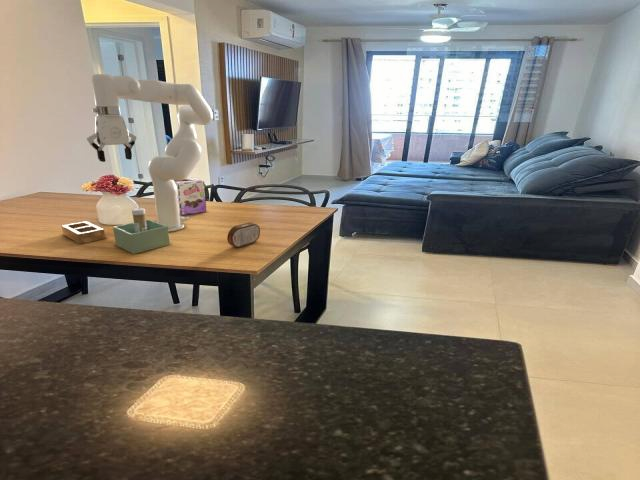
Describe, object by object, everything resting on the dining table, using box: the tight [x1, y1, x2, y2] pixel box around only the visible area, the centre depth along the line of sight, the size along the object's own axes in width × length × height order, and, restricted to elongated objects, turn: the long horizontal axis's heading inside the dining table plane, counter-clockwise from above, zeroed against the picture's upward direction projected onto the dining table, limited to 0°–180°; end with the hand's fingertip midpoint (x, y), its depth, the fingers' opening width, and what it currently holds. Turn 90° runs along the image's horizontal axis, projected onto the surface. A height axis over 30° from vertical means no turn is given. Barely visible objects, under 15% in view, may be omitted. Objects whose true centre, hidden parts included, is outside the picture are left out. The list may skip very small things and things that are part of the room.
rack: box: [61, 220, 106, 245], centre depth 156 cm, size 10×18×4 cm, turn 51°
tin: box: [226, 221, 261, 248], centre depth 151 cm, size 15×3×8 cm, turn 141°
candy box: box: [174, 179, 207, 217], centre depth 194 cm, size 14×6×16 cm, turn 129°
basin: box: [112, 219, 171, 255], centre depth 148 cm, size 14×14×8 cm
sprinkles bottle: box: [131, 207, 147, 233], centre depth 147 cm, size 5×5×14 cm
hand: (116, 160), depth 142 cm, fingers open, 9 cm apart
